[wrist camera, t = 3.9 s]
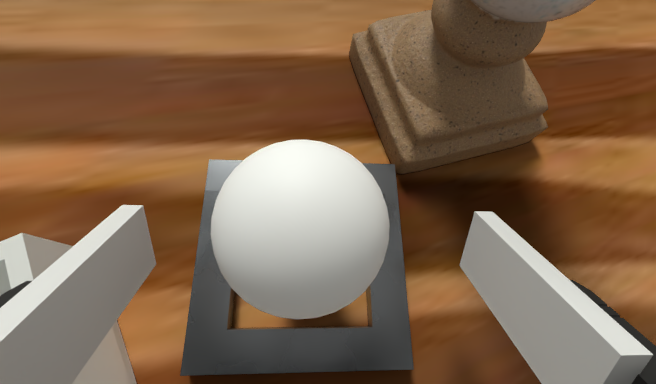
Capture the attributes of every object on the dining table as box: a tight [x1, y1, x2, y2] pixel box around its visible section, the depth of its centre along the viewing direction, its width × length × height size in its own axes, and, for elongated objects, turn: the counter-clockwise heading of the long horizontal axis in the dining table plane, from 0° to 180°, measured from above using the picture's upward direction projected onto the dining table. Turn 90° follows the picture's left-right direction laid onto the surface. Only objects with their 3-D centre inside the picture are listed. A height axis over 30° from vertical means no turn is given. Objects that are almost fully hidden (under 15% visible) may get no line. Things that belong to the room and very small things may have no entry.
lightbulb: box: [211, 140, 390, 319], centre depth 13 cm, size 6×6×11 cm
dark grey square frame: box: [180, 160, 413, 376], centre depth 18 cm, size 12×12×1 cm
